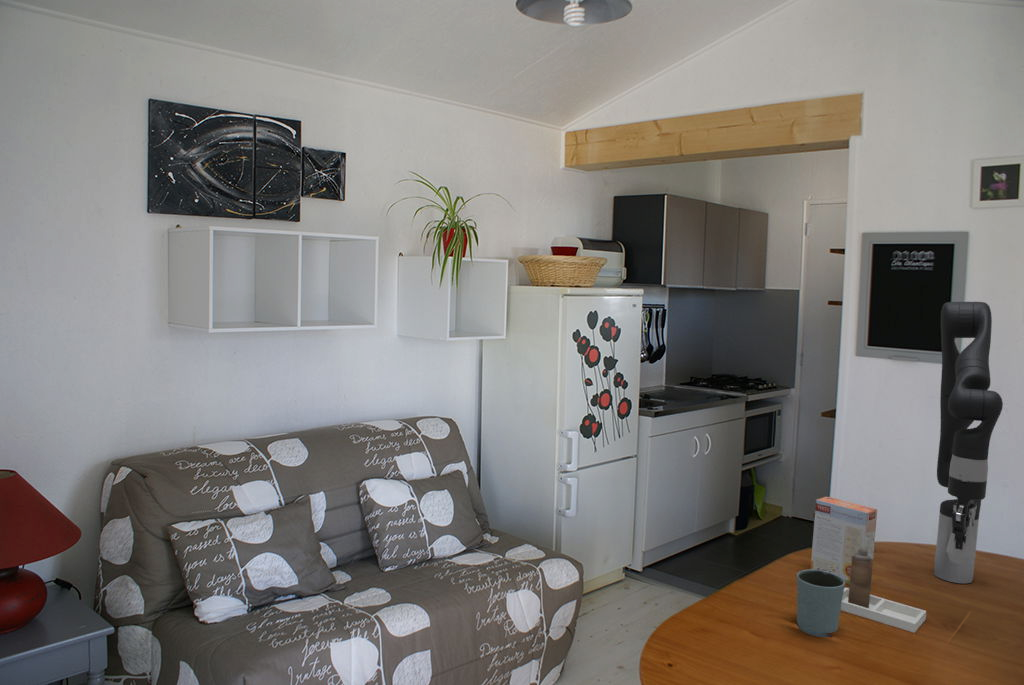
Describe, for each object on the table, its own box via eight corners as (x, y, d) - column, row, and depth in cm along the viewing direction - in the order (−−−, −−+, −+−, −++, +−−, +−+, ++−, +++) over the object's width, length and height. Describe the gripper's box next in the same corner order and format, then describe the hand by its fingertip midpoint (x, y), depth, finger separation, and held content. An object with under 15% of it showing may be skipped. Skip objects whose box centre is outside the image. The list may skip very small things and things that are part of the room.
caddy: (844, 599, 196) (845, 587, 196) (925, 623, 184) (926, 611, 184) (830, 610, 189) (831, 598, 189) (913, 636, 177) (915, 624, 177)
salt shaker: (977, 567, 179) (983, 512, 178) (950, 565, 181) (955, 509, 179) (968, 558, 185) (973, 504, 184) (941, 555, 186) (947, 502, 185)
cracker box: (871, 587, 204) (878, 508, 202) (860, 593, 201) (867, 512, 198) (820, 570, 215) (827, 494, 213) (809, 575, 211) (815, 498, 209)
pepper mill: (851, 601, 193) (856, 542, 191) (871, 607, 190) (876, 547, 188) (845, 606, 189) (850, 547, 188) (865, 613, 186) (870, 552, 185)
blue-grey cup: (839, 623, 182) (843, 573, 181) (842, 643, 173) (846, 590, 171) (792, 615, 185) (796, 566, 184) (793, 634, 176) (797, 582, 175)
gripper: (956, 467, 188) (950, 537, 190) (942, 478, 178) (935, 552, 180) (993, 473, 184) (985, 545, 185) (980, 485, 173) (972, 561, 175)
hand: (961, 548), depth 183 cm, fingers closed on salt shaker, 3 cm apart
